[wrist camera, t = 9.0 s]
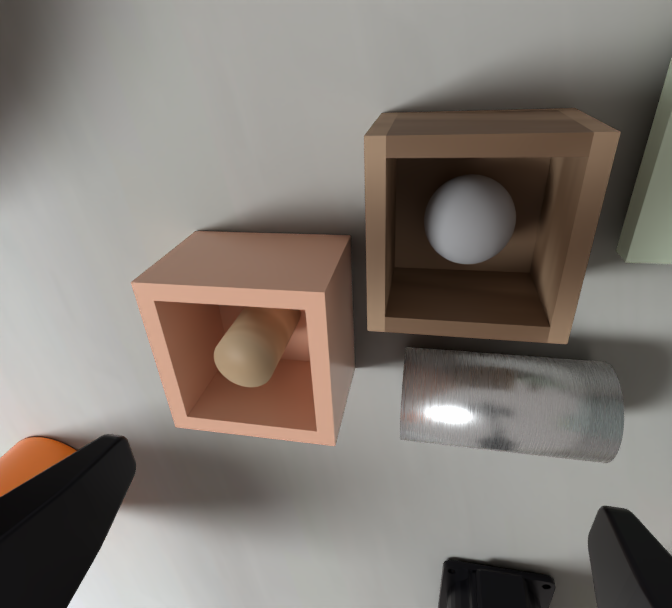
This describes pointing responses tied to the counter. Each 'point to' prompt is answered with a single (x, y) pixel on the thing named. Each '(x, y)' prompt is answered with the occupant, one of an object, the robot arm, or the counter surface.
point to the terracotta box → (223, 309)
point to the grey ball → (469, 219)
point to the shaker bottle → (30, 460)
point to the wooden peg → (255, 344)
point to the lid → (652, 193)
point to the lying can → (512, 404)
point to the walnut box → (529, 233)
